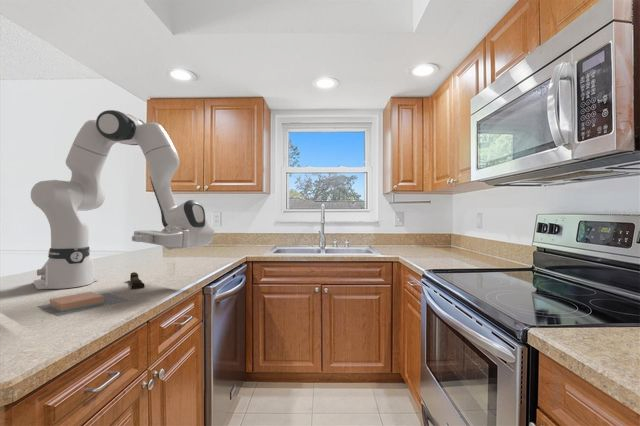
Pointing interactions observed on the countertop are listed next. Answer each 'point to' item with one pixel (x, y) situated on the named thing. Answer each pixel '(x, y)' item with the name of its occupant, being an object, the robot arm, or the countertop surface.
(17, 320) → the countertop surface
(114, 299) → the board
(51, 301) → the tile
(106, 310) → the countertop surface
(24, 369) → the countertop surface
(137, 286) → the hand tool
